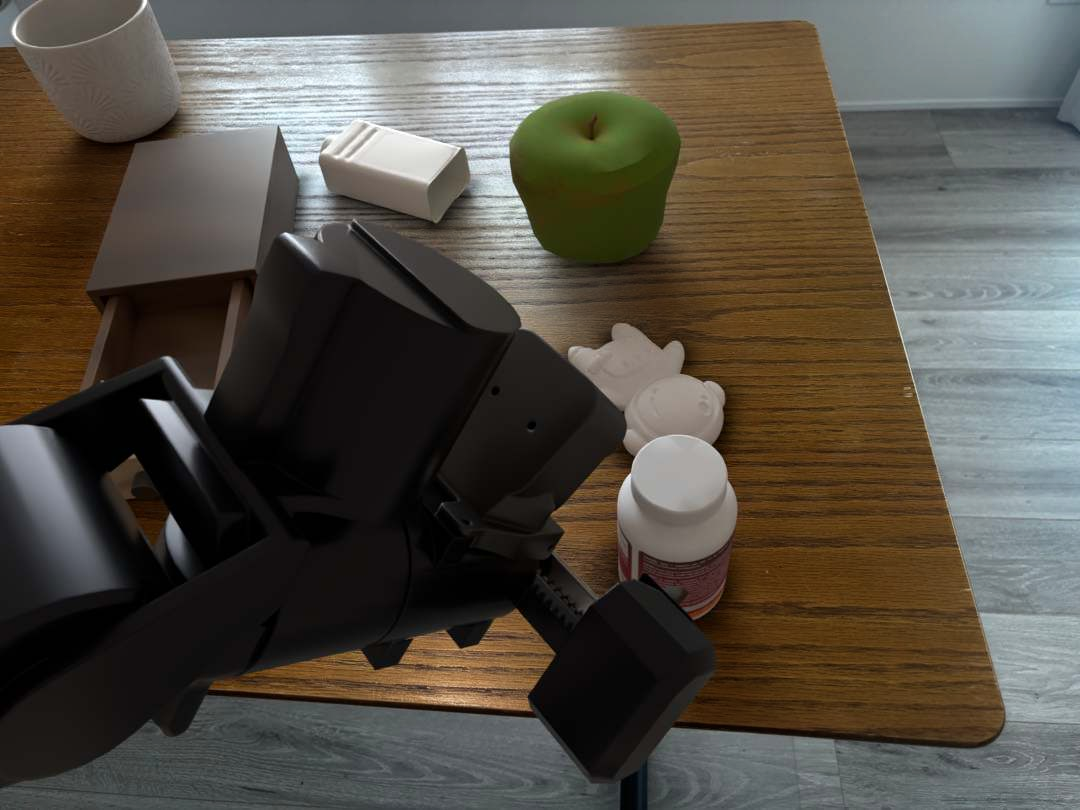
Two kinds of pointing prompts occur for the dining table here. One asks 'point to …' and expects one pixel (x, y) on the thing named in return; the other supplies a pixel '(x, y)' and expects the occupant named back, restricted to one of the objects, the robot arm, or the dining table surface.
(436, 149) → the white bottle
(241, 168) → the cabinet
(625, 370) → the white cartoon figurine
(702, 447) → the pill bottle
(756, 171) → the dining table surface
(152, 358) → the drawer
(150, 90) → the planter
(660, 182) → the apple
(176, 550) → the robot arm
